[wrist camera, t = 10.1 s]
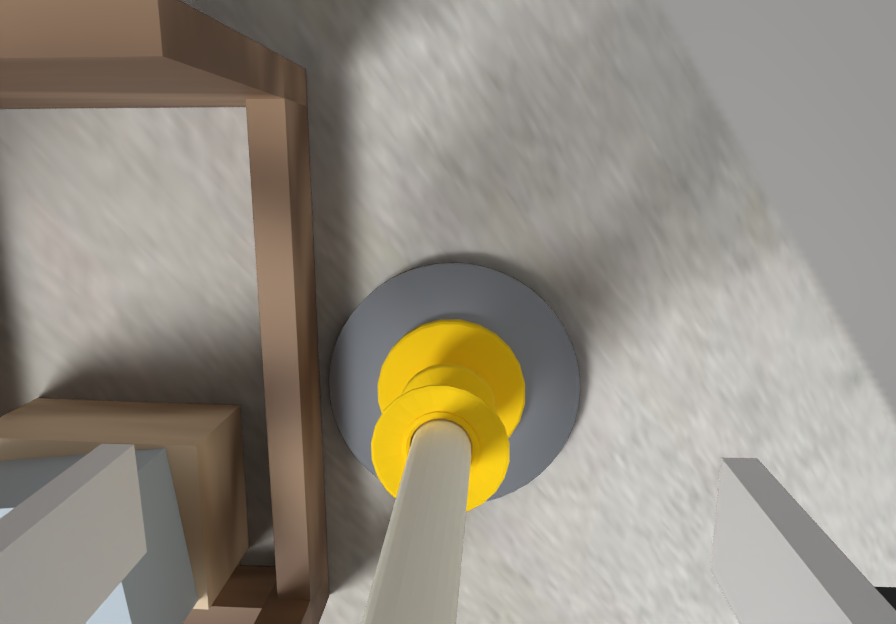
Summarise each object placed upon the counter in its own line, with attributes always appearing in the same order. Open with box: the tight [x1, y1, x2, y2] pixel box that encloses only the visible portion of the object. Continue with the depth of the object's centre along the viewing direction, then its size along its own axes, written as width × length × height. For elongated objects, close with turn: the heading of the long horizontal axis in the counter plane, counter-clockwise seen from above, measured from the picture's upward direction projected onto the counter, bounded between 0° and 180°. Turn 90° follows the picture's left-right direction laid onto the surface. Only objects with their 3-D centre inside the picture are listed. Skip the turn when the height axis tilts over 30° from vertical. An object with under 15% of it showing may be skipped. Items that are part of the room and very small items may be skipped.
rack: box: [0, 0, 329, 624], centre depth 20 cm, size 20×14×10 cm
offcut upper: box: [0, 448, 198, 624], centre depth 20 cm, size 6×7×4 cm
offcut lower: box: [0, 398, 249, 610], centre depth 24 cm, size 6×8×4 cm
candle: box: [361, 319, 525, 624], centre depth 16 cm, size 5×5×16 cm
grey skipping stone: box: [329, 262, 580, 501], centre depth 24 cm, size 9×9×1 cm
